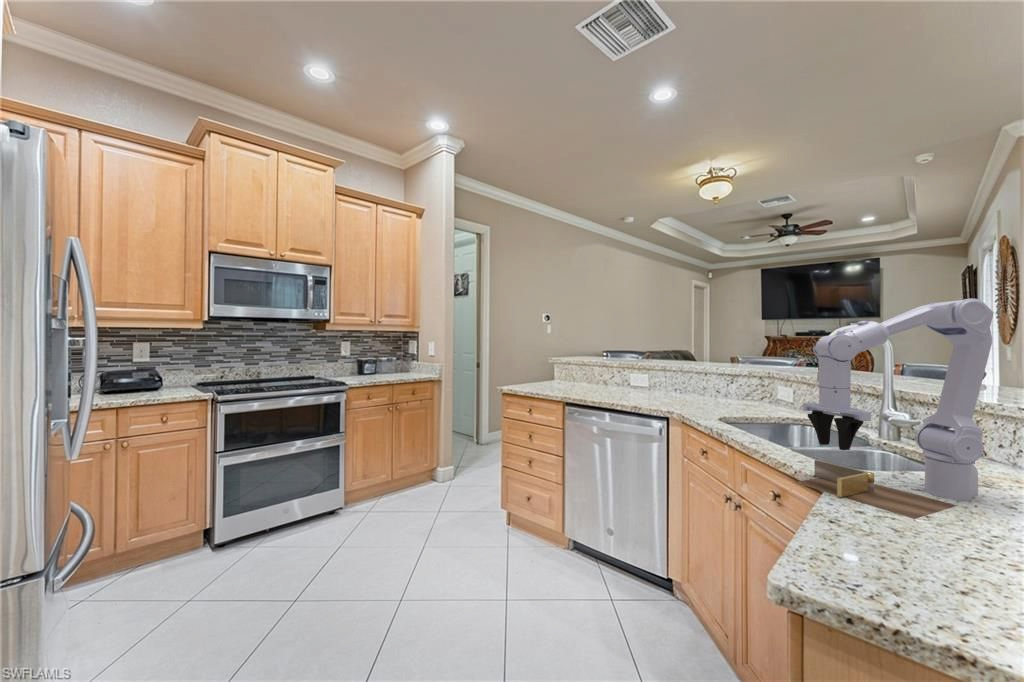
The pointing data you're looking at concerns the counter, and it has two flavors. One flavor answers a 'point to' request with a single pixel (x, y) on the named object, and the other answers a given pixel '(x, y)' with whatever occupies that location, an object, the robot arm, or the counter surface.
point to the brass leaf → (854, 484)
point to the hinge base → (874, 492)
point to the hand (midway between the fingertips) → (834, 447)
